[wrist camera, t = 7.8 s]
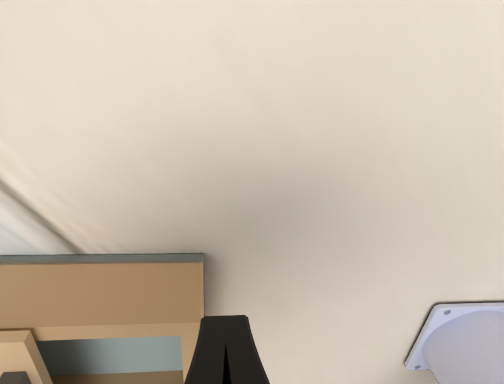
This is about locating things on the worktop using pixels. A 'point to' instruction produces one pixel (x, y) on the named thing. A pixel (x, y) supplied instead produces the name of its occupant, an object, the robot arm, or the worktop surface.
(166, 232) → the worktop surface
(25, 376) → the lid
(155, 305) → the box
